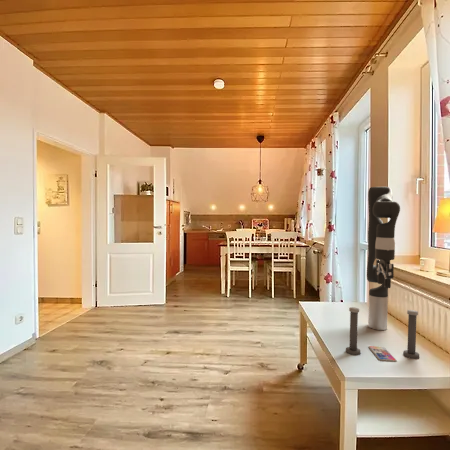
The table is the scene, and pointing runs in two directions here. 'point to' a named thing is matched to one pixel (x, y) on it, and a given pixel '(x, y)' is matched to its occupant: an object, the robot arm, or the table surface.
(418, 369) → the table surface
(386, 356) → the smartphone
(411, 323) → the post
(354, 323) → the knob
